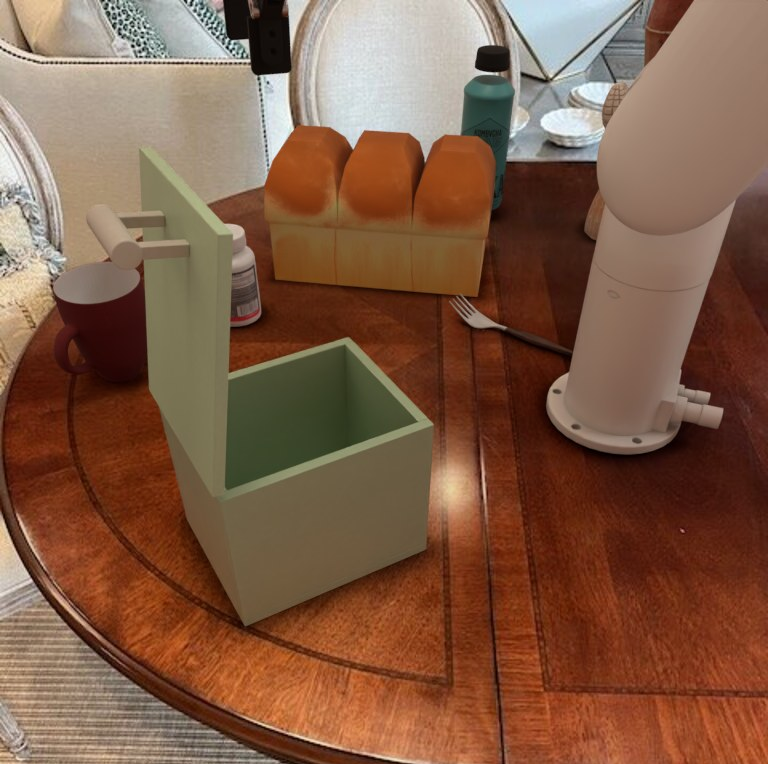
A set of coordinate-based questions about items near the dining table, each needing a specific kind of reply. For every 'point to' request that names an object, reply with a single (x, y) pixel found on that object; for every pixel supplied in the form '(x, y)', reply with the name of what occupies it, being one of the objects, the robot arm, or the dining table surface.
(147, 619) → the dining table surface
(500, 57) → the beverage bottle
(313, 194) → the bread
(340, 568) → the caddy
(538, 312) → the dining table surface
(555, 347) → the fork
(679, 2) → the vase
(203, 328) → the lid
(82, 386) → the dining table surface
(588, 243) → the dining table surface
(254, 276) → the pill bottle
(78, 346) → the mug
